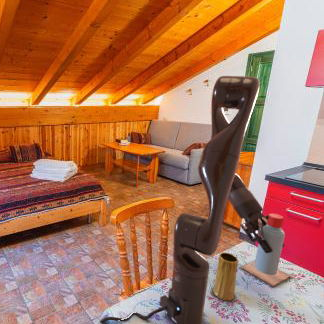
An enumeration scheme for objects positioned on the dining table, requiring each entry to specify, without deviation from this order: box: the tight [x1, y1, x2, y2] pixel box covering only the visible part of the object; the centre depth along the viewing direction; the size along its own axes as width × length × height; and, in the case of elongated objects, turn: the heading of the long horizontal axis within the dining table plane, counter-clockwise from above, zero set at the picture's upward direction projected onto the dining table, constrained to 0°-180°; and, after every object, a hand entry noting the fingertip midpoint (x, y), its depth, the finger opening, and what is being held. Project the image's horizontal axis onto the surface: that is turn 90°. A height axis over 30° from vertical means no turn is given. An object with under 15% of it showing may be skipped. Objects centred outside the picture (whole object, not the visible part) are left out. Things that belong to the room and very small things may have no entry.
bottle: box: [254, 224, 286, 275], centre depth 81 cm, size 6×6×19 cm
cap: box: [267, 213, 284, 229], centre depth 79 cm, size 4×4×3 cm
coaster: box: [240, 260, 291, 287], centre depth 94 cm, size 11×11×1 cm
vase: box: [212, 252, 239, 301], centre depth 82 cm, size 6×6×14 cm
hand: (275, 249), depth 80 cm, fingers closed on bottle, 6 cm apart
